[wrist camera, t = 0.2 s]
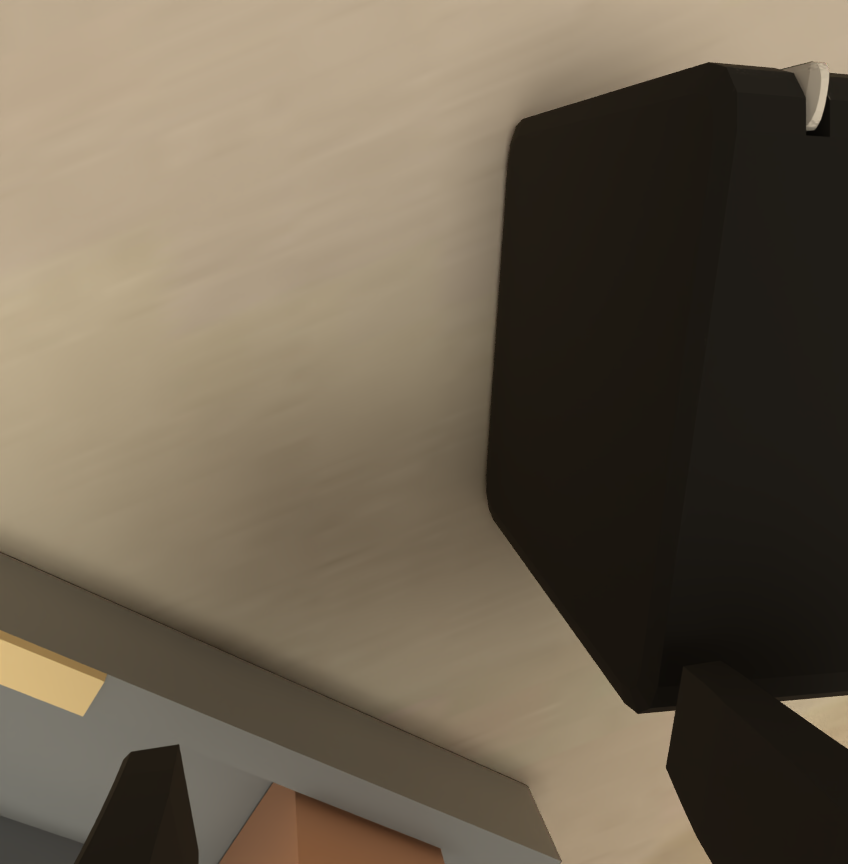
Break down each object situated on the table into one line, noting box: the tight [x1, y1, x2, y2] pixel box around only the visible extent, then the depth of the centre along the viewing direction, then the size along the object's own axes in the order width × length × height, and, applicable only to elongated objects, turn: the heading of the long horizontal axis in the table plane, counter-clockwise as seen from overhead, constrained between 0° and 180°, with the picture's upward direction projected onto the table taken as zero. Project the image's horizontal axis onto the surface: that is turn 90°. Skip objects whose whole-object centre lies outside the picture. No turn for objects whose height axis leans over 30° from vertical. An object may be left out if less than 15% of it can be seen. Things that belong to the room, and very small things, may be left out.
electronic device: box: [486, 62, 848, 714], centre depth 16 cm, size 4×10×10 cm, turn 177°
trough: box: [0, 553, 562, 864], centre depth 20 cm, size 20×7×5 cm, turn 56°
